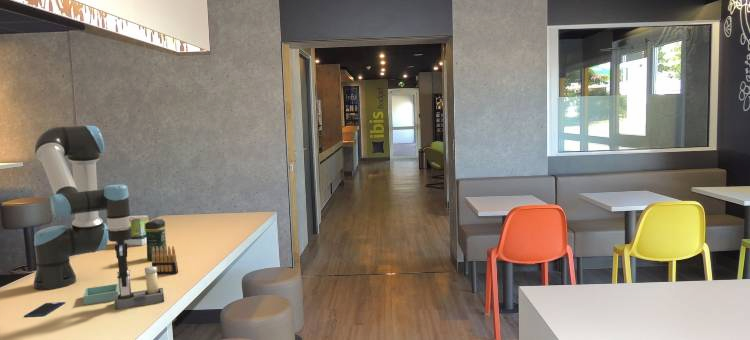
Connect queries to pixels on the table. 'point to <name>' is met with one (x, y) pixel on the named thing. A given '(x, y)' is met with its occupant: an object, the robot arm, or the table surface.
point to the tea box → (138, 230)
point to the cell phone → (44, 309)
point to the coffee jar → (155, 236)
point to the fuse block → (139, 299)
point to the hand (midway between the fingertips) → (125, 293)
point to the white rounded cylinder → (151, 280)
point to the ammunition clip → (164, 261)
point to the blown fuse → (129, 286)
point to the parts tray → (100, 294)
